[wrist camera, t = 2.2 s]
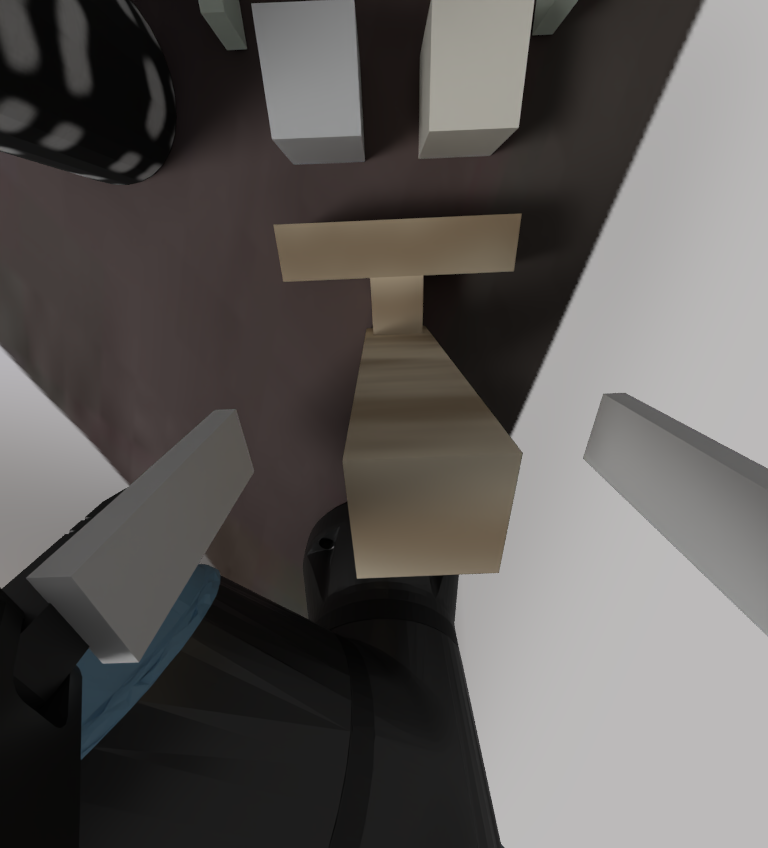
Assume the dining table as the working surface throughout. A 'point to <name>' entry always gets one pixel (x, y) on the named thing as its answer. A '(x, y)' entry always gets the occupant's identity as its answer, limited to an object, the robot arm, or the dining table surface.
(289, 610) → the robot arm
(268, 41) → the gray cube
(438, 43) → the off-white cube
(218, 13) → the bay
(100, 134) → the spotted tube
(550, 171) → the dining table surface
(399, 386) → the cream t-shaped block
